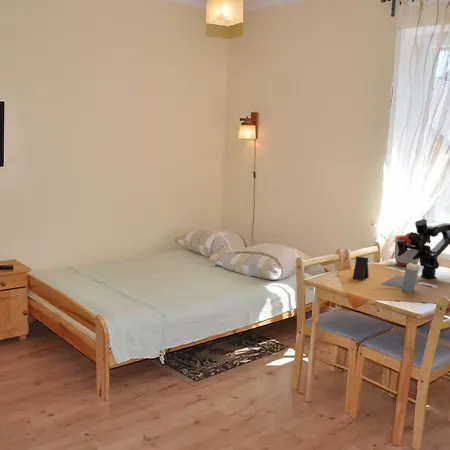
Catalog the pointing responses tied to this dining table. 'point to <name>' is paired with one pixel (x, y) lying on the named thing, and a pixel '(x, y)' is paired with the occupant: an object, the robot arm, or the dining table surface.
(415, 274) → the tall block
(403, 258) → the citrus juicer
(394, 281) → the rubber mat
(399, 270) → the dining table surface
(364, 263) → the black picture frame
